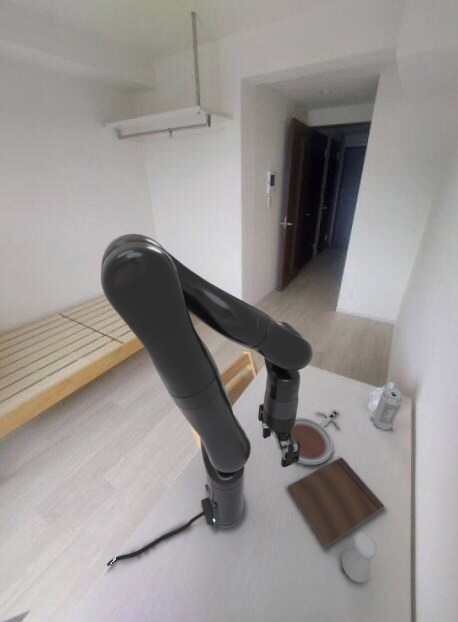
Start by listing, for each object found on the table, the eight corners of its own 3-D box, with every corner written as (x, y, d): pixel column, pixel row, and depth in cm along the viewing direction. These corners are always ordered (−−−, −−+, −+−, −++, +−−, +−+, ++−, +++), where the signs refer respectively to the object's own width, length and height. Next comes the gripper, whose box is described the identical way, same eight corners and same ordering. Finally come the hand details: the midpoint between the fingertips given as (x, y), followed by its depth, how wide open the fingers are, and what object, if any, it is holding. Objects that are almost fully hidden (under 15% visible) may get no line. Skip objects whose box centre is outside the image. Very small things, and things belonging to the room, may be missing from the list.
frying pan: (360, 422, 94) (313, 474, 78) (358, 428, 95) (311, 480, 79) (318, 394, 105) (269, 434, 89) (316, 400, 106) (268, 440, 91)
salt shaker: (360, 552, 64) (373, 525, 58) (372, 585, 59) (387, 559, 53) (335, 553, 64) (346, 526, 58) (345, 587, 59) (358, 561, 53)
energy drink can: (388, 418, 98) (400, 388, 90) (393, 433, 92) (406, 401, 85) (370, 415, 99) (381, 385, 92) (374, 429, 94) (385, 398, 87)
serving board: (325, 548, 65) (326, 545, 64) (288, 488, 77) (288, 485, 76) (383, 509, 72) (384, 505, 71) (341, 460, 84) (342, 456, 83)
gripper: (250, 389, 65) (249, 433, 73) (285, 436, 54) (278, 482, 62) (276, 380, 68) (272, 423, 76) (314, 422, 57) (305, 469, 64)
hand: (275, 450), depth 69 cm, fingers open, 8 cm apart
